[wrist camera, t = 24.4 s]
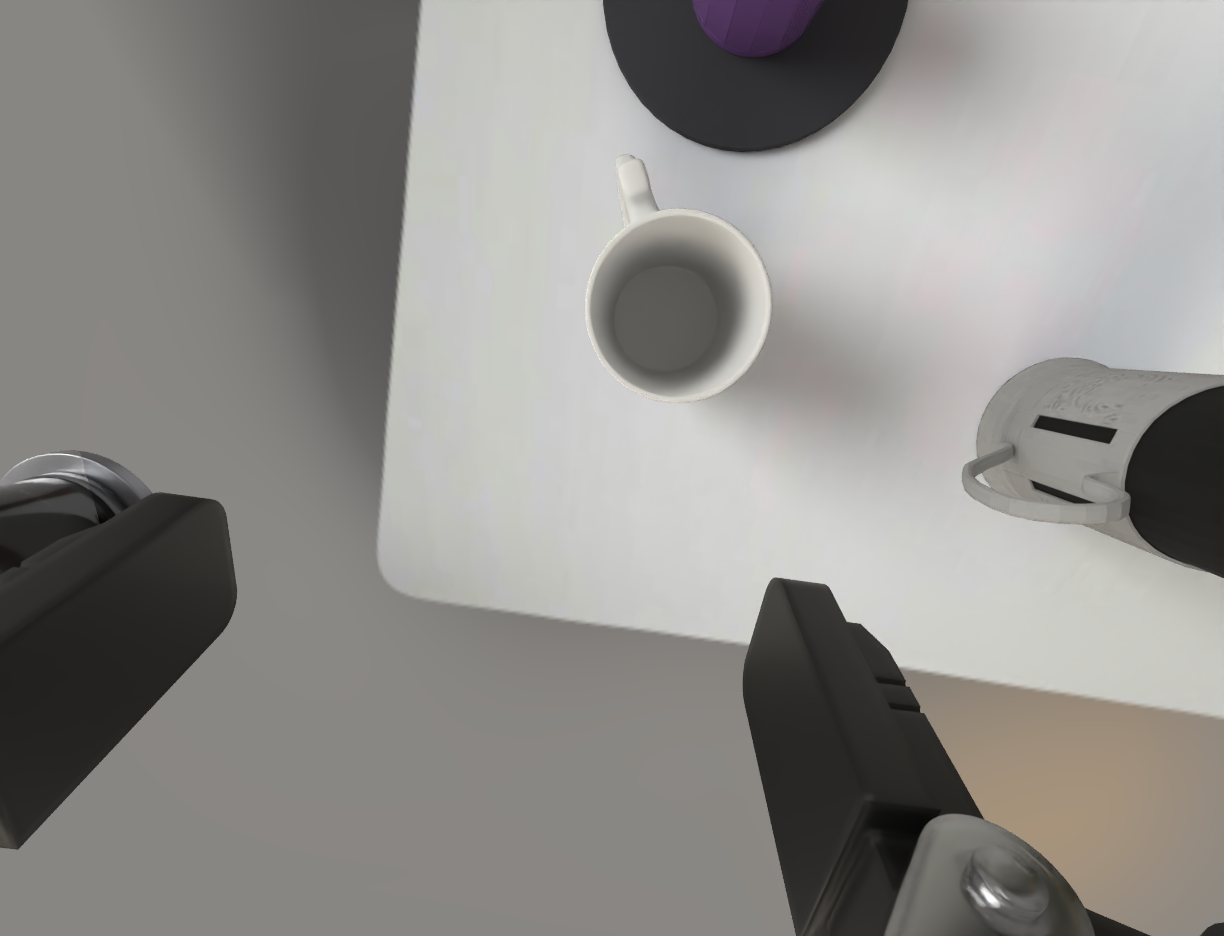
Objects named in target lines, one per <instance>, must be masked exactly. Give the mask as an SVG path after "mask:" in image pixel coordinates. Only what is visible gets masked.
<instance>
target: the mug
mask: <svg viewBox="0 0 1224 936" xmlns="http://www.w3.org/2000/svg"><path fill="white" fill-rule="evenodd" d="M615 166H616V176H617V184H618V193H619V200H620V207H621V212H622V217H623V222H624V226H625V227H624V228H623V229H622V230H621V231H620V232H618V233H617V234H616V235H615V236H614V237H613V238H612V239H611V241H610V242H609V243H608V244H607V245H606V247H605V248H604V249H603V251H602V252H601V254H600V256H599V257H598V259H597V261H596V263H595V265H594V267H593V270H592V272H591V275H590V278H589V282H588V286H587V291H586V299H585V317H586V325H587V330H588V334H589V337H590V340H591V343H592V346H593V348H594V350H595V352H596V354H597V356H598V358H599V359H600V361H601V362H602V364H603V365H604V366H605V368H606V369H607V370H608V371H609V373H610V374H611V375H612V376H613V377H614V378H615V379H616V380H618V381H619V382H620V383H621V384H622V385H624V386H625V387H627V388H628V389H630V390H631V391H633V392H635V393H637V394H639V395H641V396H644V397H646V398H649V399H653V400H656V401H661V402H668V403H688V402H695V401H699V400H703V399H706V398H709V397H712V396H714V395H716V394H718V393H720V392H722V391H723V390H725V389H727V388H728V387H730V386H731V385H732V384H734V383H735V382H736V381H737V380H738V379H739V378H741V377H742V376H743V375H744V373H745V372H746V371H747V370H748V369H749V368H750V367H751V365H752V364H753V363H754V361H755V360H756V358H757V356H758V355H759V353H760V351H761V349H762V347H763V345H764V343H765V340H766V337H767V334H768V331H769V327H770V322H771V316H772V292H771V285H770V281H769V277H768V274H767V271H766V268H765V266H764V263H763V261H762V259H761V257H760V255H759V254H758V252H757V250H756V249H755V247H754V246H753V245H752V243H751V242H750V241H749V240H748V239H747V238H746V237H745V236H744V235H743V234H742V233H741V232H740V231H739V230H738V229H737V228H735V227H734V226H733V225H731V224H730V223H728V222H727V221H725V220H723V219H721V218H719V217H717V216H715V215H712V214H709V213H706V212H703V211H699V210H693V209H666V210H659V208H658V206H657V204H656V202H655V199H654V196H653V193H652V190H651V187H650V182H649V178H648V174H647V171H646V168H645V165H644V163H643V161H642V160H641V159H636V158H635V157H634V156H632V155H629V154H625V155H622V156H620V157H618V158H617V160H616V164H615Z"/></svg>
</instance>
